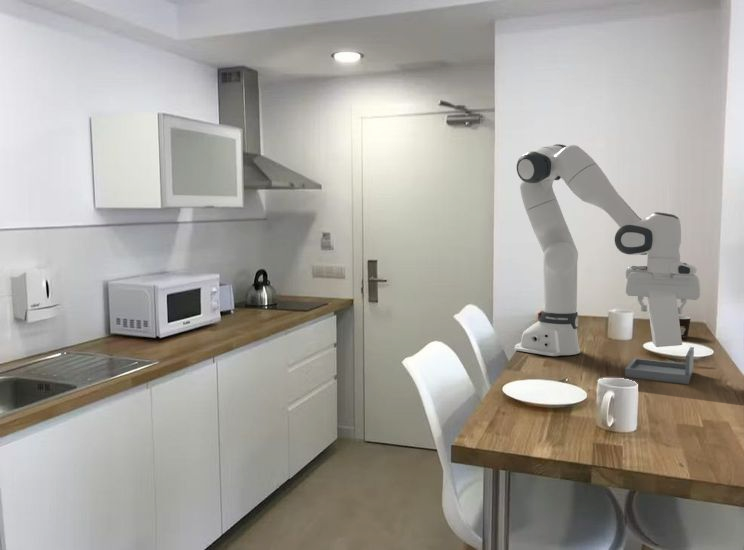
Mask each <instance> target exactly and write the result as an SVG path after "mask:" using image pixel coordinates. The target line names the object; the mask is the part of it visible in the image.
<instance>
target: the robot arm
mask: <svg viewBox="0 0 744 550" xmlns="http://www.w3.org/2000/svg"><path fill="white" fill-rule="evenodd" d="M516 172H517V175H518V177H519V179H520V180H521V182H520V185H519V189H520V190H519V191H520V194H521V199H522V203H523V205H524V208H525V212H526V214H527V217H528V219H529V222H530V225H531V227H532V229H533V233H534V235H535V236H536V239H537V241H538V243H539V245H540V248H541V250H542V252H543V309H542V310H540V311H539V312H538V313H537V316H536V317H537V320H538V321H536V322H535V323H533V324H532V325H530V326H529V327H527V329H525V330H524V331H523V332H522V335H521V339H520V342H518V343H516V344H515V345H514V350H515V351H518V352H525V353H530V354H537V355H543V356H550V357H558V356H572V355H574V356H575V355H578V354H580V353H581V349H580V345H579V344H580V343H579V340H578V331H577V330H578V329H577V328H578V326H579V315H578V311H577V306H578V305H577V304H578V303H577V302H578V297H577V296H578V260H579V259H578V258H579V251H578V249H577V247H576V243H575V242H574V239H573V237H572V234H571V232H570V229H569V227H568V225H567V222H566V219H565V217H564V215H563V211H562V210H561V206H560V205H559V202H558V199H557V196H556V195H555V191H554V188H553V183H554V181H559V180H563V181H564V183H565V184H566V186H568V188H569V190H570V191H571V192H572V193H573V194H574V195H575V196H576V197H577V198H579V199H580V200H581V201H582V202H585V203H588V204H590V205H593V206H594V207H595V206H596V207H598V208H600V209H601V210H603V211H605V212H606V213H607V214H608V216H610V217H611V219H612V220H613V221H614V222H615V223H616V224H617V226H619V228H618V229H617V231H616V232H615V235H614V245H615V247H616V249H618V251H619V252H621V253H622V254H624V255H627V256H638V255H641V256H645V255H647V260H646V261H647V262H646V263H647V264H646V265H640V266H637V265H631V266H630V267H628V268H626V271H625V278H626V285H625V294H626V295H627V296H628V297H637V301H638V303H639V305H640V307H641V308H640V310H641V311H640V312H644V313H645V312H648V304H645V303H644V302H643V301H644V299H645V298H647V297H650V296H649V292H648V290H653V291H661V292H669V293H676V298H677V300H680V303H681V305H680V306H679V307H678V314H679V315H682V314H683V308H684V306H685V305H686V304H687V301H688V300H691V301H692V300H693V301H696V300H698V299H700V298H701V284H700V278H699V277H698V275H696V274H697V267H696V266H695V265H692V264H689V263H687V262H683V261H681V254H680V246H681V244H682V228H681V220H680V218H679V217H678V216H676V215H675V214H671V213H665V212H659V211H657V212H656V211H655V212H652V213H651V214H650V215H648V216H647V217H645V218H641V217H639V215H637V213H636V212H635V211H634V210H633V209H632V208H631V206H629V204H628V203H627V202H626V201H625V200H624V199H623V198H622V196H621V195H620V194H619V192H618V191H617V190H616V189H615V187H614V186H613V185H612V183H611V182H610V180H609V179H608V177H607V175H606V174H605V172H604V171H603V169H602V168H601V167H600V166H599V165H598V163H597V162H596V161H595V160H594V158H592V157H591V155H589V154H588V153H587V152H586V151H585V150H583V148H582V147H580V146H579V145H576V144H570V145H565V144H560V143H559V144H558V143H557V144H553V145H547V146H541V147H539V148H538V149H534V150H532V151H528V152H526V153H524V154H523V155H521V156H520V157H519V158H518V159H517V163H516Z"/></svg>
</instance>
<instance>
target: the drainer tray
mask: <svg viewBox="0 0 744 550" xmlns="http://www.w3.org/2000/svg"><path fill="white" fill-rule="evenodd" d="M694 349H695V347H692V346H690V347H689V349H688V351H687V353H686V355H685V363H684V362H674V361H665V360H664V361H663V360H655V359H644V358H634V357H633V358H632V360H631V361H630V362H629V363H628V364H627V366H626V367H624V377H626V378H633V379H639V380H641V379H643V380H649V381H656V382H667V383H674V384H683V385H689V384H690V381H691V379H692V377H693V373H694V355H695V351H694Z"/></svg>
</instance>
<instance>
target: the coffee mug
mask: <svg viewBox="0 0 744 550" xmlns="http://www.w3.org/2000/svg"><path fill="white" fill-rule="evenodd" d="M679 322H680V330H681V338H682V340H686V339H688V336H689V330H690V324H691V317H690V316H685V315H679Z"/></svg>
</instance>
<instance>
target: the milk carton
mask: <svg viewBox="0 0 744 550" xmlns="http://www.w3.org/2000/svg"><path fill="white" fill-rule="evenodd" d="M648 292H649V296H650V297H646V301H647V310H648V314H649V315H648V316H649V324H650V332H651V339H652V344H653V345H654V346H655V347H656V348H660V347H674V346H675V347H677V346H683V341H682V340H683V339H682V338H681V330H680V322H679V316H680V314H678V308H679V307H678V299H677V298H676V293H669V292H661V291H653V290H648Z"/></svg>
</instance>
